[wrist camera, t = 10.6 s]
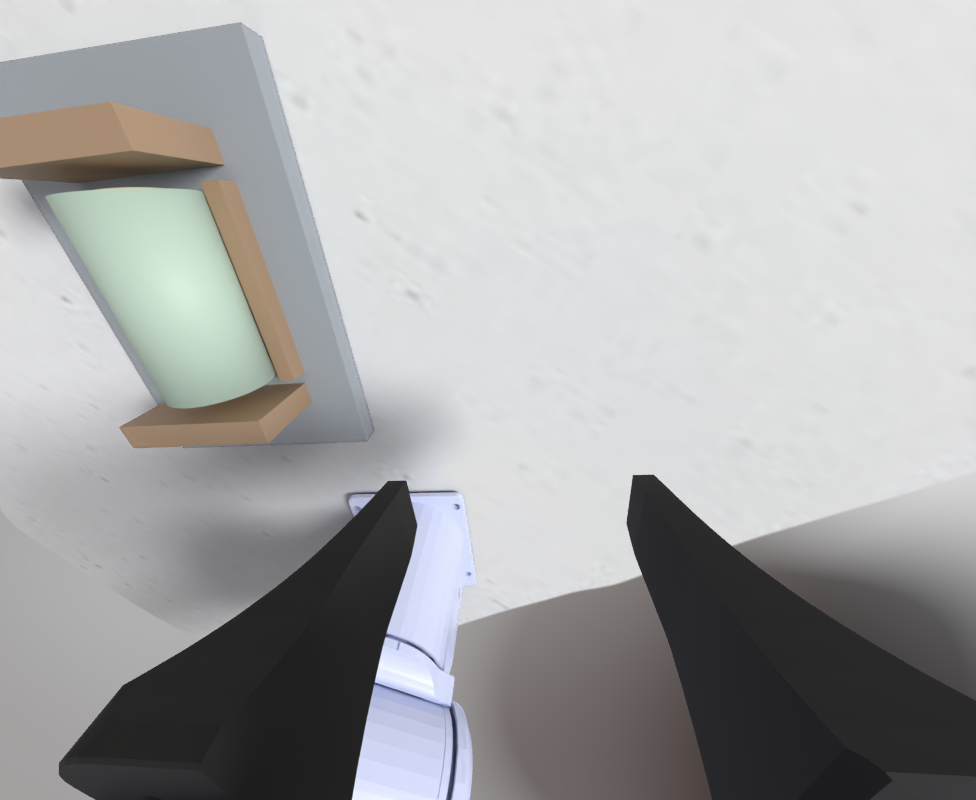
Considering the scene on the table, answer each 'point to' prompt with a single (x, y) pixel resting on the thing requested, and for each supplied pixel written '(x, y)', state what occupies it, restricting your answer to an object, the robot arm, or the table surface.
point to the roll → (169, 289)
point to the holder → (231, 198)
